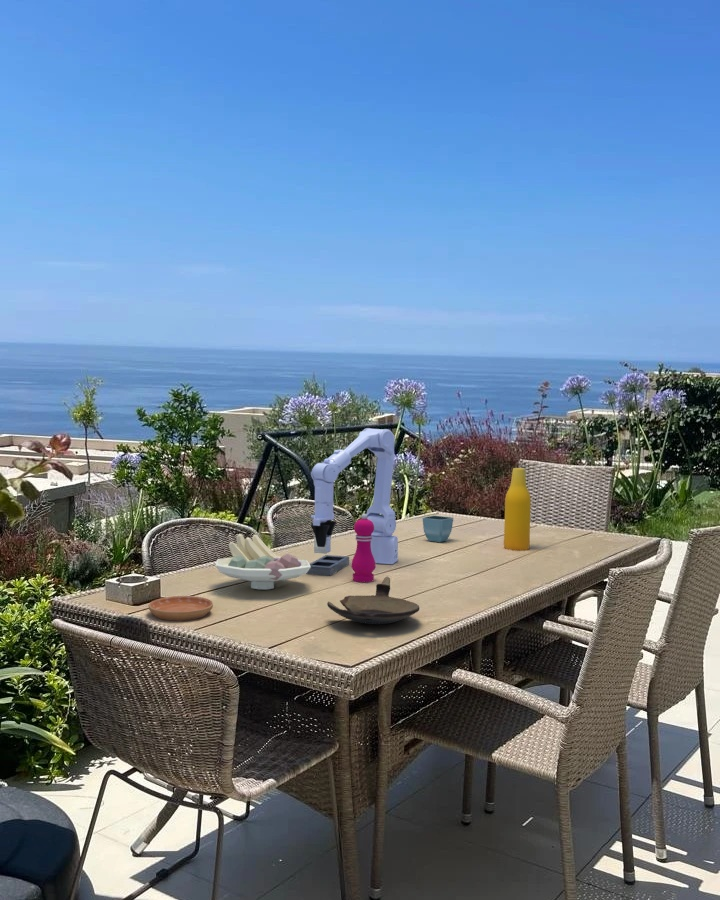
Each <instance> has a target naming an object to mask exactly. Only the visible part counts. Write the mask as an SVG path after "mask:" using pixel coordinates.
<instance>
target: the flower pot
mask: <svg viewBox="0 0 720 900" xmlns="http://www.w3.org/2000/svg"><path fill="white" fill-rule="evenodd" d="M453 522H454V517H453V516H452V517H450V516H441V515H431V516H426V517H425V516H424V517H422V525H423V526H422V527H423V528H422V529H423V533H424V536H425V537H426V538H427V541H429V542H434V543H435V542H436V543H442V542H446V541H447V540H448V539H449V538H450V535H451V533H452V530H453V525H454V524H453Z"/></svg>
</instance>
